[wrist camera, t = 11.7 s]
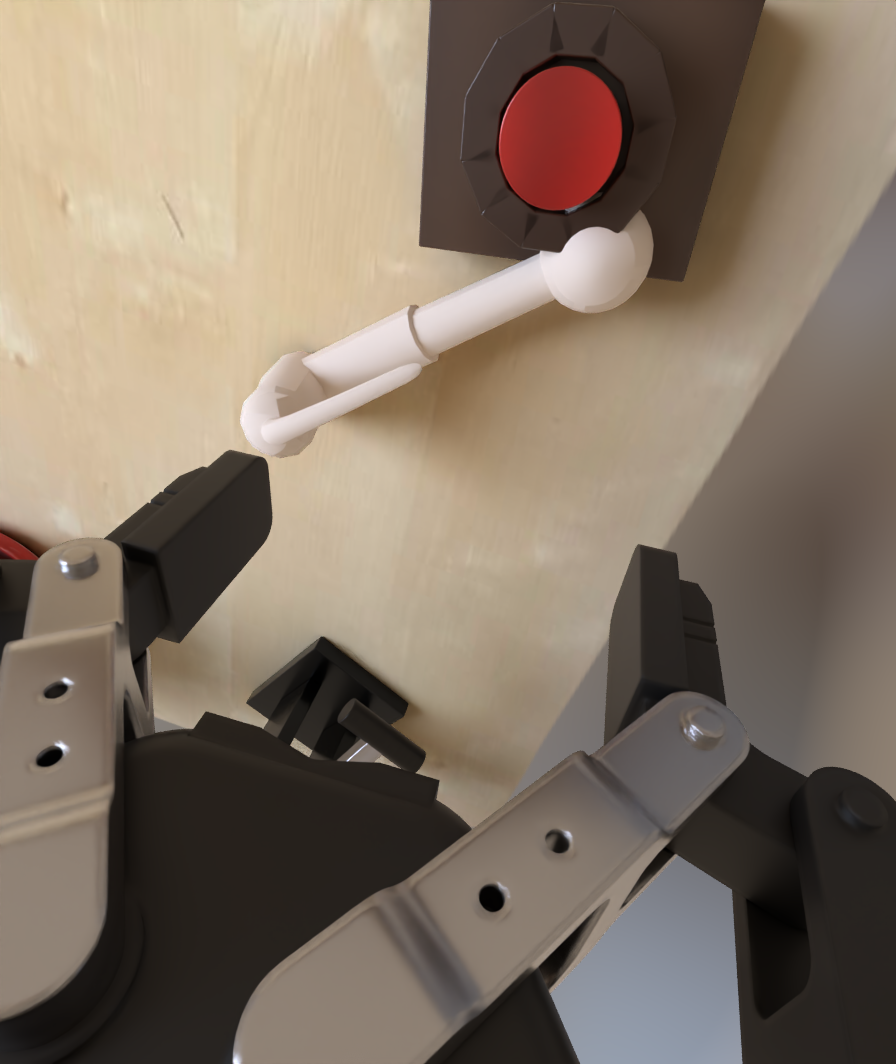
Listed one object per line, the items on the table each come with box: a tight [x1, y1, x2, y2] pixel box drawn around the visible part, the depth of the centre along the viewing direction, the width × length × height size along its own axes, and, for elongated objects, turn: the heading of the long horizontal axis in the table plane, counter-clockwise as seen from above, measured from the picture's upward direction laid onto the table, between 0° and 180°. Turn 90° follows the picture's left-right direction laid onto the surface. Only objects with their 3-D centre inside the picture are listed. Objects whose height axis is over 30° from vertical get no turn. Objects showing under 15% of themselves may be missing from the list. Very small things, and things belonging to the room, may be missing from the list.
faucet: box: [240, 192, 654, 458], centre depth 24 cm, size 4×18×10 cm, turn 117°
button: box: [499, 66, 622, 210], centre depth 19 cm, size 4×4×2 cm
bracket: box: [246, 637, 408, 761], centre depth 40 cm, size 10×8×14 cm
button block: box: [419, 0, 765, 282], centre depth 21 cm, size 10×8×4 cm
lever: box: [337, 699, 426, 773], centre depth 34 cm, size 14×5×2 cm, turn 138°
